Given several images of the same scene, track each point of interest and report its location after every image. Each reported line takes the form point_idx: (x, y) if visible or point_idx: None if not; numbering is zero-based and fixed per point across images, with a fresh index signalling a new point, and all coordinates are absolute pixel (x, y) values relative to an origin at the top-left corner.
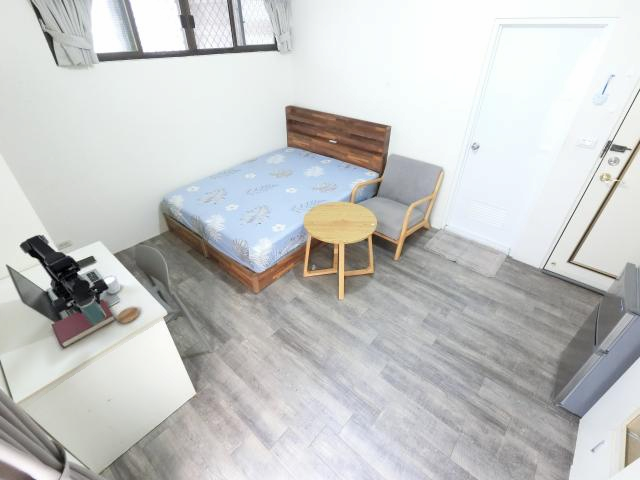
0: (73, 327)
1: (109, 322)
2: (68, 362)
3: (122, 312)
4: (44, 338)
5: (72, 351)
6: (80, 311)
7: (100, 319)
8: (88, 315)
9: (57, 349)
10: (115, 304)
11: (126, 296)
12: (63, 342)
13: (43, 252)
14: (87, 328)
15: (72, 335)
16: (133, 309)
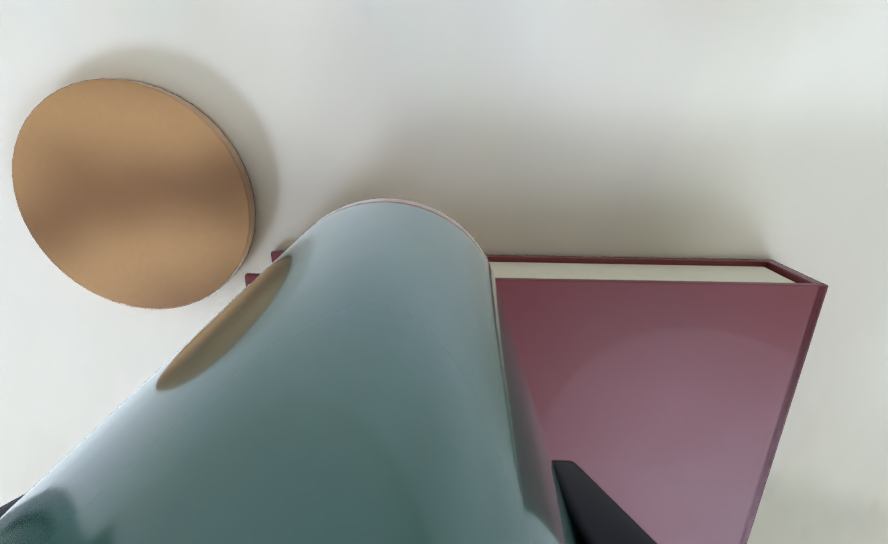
0: (627, 416)
1: None
2: (846, 11)
3: (184, 288)
4: (797, 488)
5: (744, 147)
6: (586, 521)
7: (352, 211)
8: (465, 307)
9: None
10: None
11: None
12: (790, 283)
13: None
14: (536, 293)
15: (686, 312)
16: (66, 240)
